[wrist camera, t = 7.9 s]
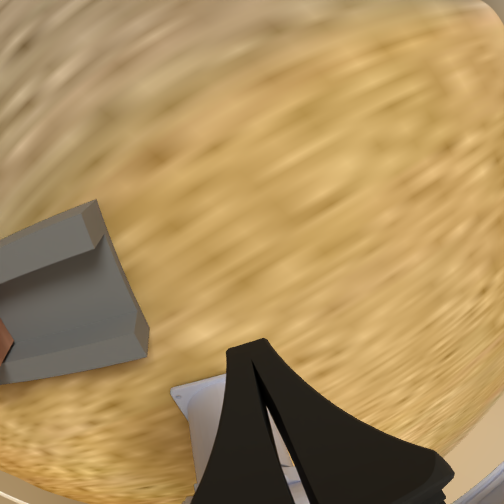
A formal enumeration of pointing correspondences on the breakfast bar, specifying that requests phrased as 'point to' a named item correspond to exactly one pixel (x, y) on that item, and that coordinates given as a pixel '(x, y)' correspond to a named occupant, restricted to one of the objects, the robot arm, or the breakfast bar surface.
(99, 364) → the chute
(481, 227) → the breakfast bar surface
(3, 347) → the block
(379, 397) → the breakfast bar surface
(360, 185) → the breakfast bar surface
